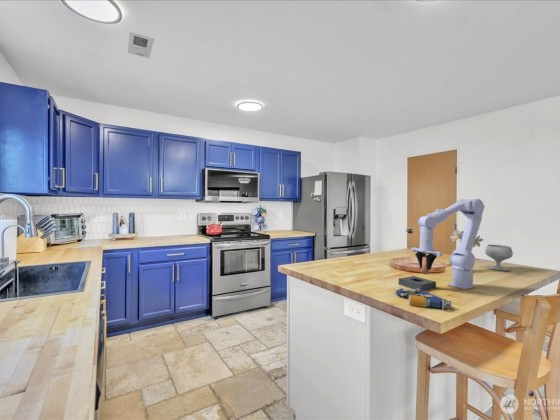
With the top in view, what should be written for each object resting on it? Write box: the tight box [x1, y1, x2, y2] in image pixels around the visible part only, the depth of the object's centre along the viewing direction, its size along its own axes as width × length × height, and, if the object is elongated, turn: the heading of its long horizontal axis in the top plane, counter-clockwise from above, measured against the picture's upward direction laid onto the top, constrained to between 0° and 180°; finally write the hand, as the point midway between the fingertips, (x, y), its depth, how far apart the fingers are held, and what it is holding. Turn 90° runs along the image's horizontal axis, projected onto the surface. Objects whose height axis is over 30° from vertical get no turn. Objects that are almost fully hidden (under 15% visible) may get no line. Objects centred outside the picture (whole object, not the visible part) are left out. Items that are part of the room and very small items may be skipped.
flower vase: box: [450, 229, 484, 257], centre depth 172 cm, size 13×18×25 cm
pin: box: [421, 256, 430, 275], centre depth 135 cm, size 3×3×8 cm
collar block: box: [398, 275, 437, 291], centre depth 138 cm, size 12×12×3 cm
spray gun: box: [394, 287, 452, 311], centre depth 116 cm, size 21×4×15 cm
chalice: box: [484, 244, 514, 272], centre depth 179 cm, size 14×14×15 cm
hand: (425, 268), depth 135 cm, fingers closed on pin, 3 cm apart
